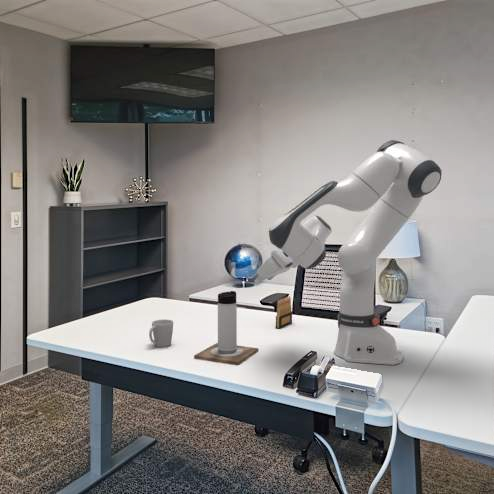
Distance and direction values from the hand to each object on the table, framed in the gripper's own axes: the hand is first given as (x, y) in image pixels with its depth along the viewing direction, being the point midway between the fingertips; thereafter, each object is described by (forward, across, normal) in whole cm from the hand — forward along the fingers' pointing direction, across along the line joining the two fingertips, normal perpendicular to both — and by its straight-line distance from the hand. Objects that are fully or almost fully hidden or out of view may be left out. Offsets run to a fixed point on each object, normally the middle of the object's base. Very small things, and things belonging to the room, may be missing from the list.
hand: (262, 280), depth 166 cm
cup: (+42, +11, -6) cm, 44 cm away
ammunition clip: (+23, -35, +14) cm, 44 cm away
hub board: (+23, +9, +12) cm, 28 cm away
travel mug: (+22, +9, +11) cm, 27 cm away
